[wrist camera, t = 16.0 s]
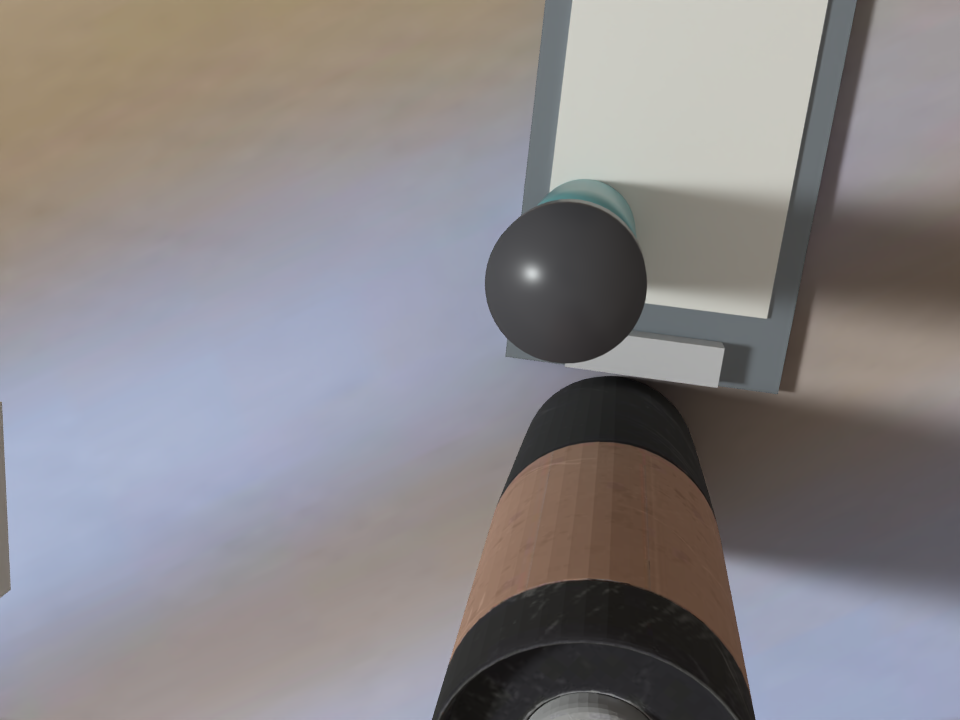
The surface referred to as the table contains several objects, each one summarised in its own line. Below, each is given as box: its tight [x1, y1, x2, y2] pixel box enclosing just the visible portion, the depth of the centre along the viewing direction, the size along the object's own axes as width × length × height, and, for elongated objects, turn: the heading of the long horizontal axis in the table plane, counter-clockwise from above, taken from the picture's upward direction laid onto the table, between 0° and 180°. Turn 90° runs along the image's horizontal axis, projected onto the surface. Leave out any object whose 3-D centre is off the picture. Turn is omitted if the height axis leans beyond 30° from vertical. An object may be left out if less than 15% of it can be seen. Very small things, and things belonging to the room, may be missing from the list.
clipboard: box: [505, 0, 857, 394], centre depth 35 cm, size 18×11×2 cm, turn 175°
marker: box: [485, 179, 647, 364], centre depth 30 cm, size 4×4×12 cm
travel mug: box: [432, 376, 755, 720], centre depth 29 cm, size 8×8×20 cm
